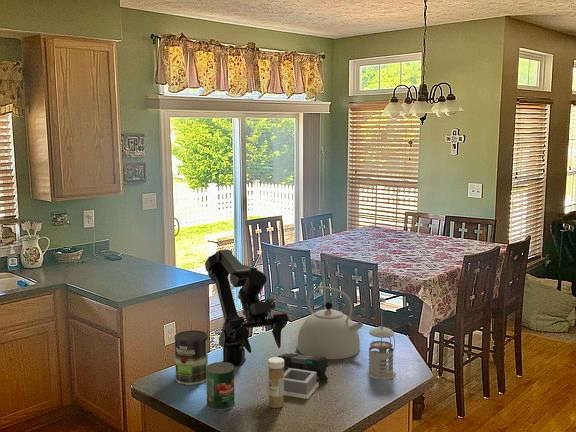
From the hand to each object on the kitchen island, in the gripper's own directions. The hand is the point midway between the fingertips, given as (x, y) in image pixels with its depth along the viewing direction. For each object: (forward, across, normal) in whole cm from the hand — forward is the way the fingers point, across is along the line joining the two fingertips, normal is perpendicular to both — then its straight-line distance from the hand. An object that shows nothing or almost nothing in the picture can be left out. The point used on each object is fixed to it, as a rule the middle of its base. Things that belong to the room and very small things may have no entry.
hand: (265, 349), depth 170 cm
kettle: (-8, +37, +28) cm, 47 cm away
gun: (+3, +17, +17) cm, 24 cm away
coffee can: (-5, -16, +24) cm, 30 cm away
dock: (+10, +10, +9) cm, 17 cm away
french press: (+11, +40, +9) cm, 43 cm away
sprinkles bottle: (+15, 0, +4) cm, 16 cm away
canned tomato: (+10, -14, +9) cm, 20 cm away
